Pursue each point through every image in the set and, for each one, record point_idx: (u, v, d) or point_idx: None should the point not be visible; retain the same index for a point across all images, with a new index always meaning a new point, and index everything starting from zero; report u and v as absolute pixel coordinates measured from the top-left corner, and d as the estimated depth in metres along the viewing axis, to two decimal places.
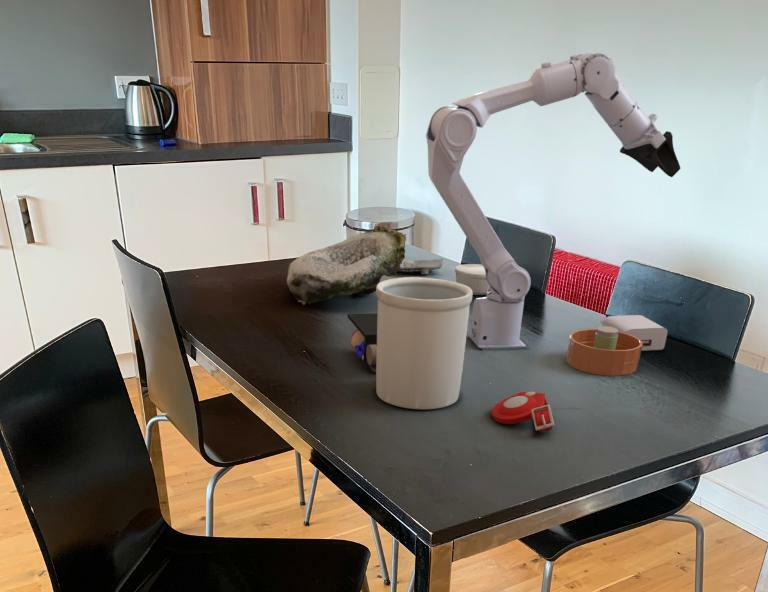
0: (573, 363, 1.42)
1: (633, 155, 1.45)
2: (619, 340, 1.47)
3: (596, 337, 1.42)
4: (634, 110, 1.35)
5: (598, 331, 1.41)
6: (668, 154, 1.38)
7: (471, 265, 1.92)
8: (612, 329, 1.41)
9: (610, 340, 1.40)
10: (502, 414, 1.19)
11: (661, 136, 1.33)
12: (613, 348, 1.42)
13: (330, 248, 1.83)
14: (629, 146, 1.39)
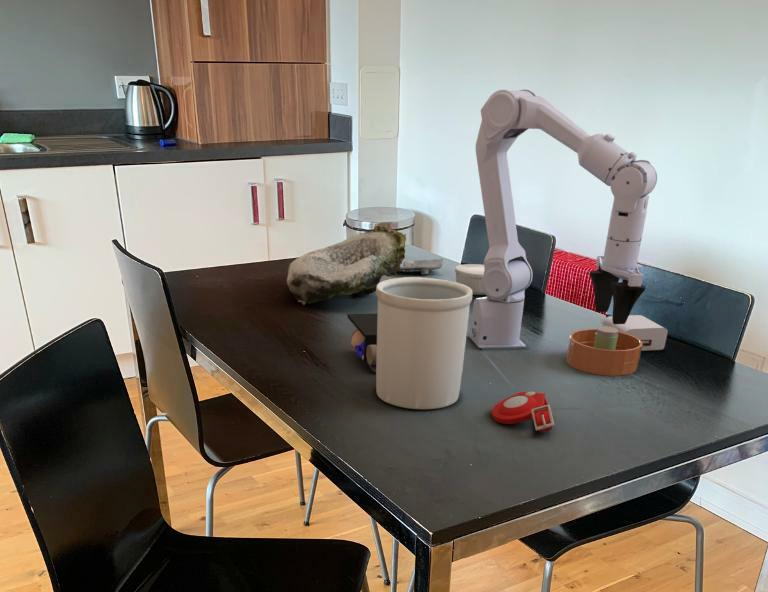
0: (573, 363, 1.42)
1: (597, 284, 1.41)
2: (619, 340, 1.47)
3: (596, 337, 1.42)
4: (636, 243, 1.32)
5: (598, 331, 1.41)
6: (627, 303, 1.35)
7: (471, 265, 1.92)
8: (612, 329, 1.41)
9: (610, 340, 1.40)
10: (502, 414, 1.19)
11: (640, 280, 1.30)
12: (613, 348, 1.42)
13: (330, 248, 1.83)
14: (607, 268, 1.34)
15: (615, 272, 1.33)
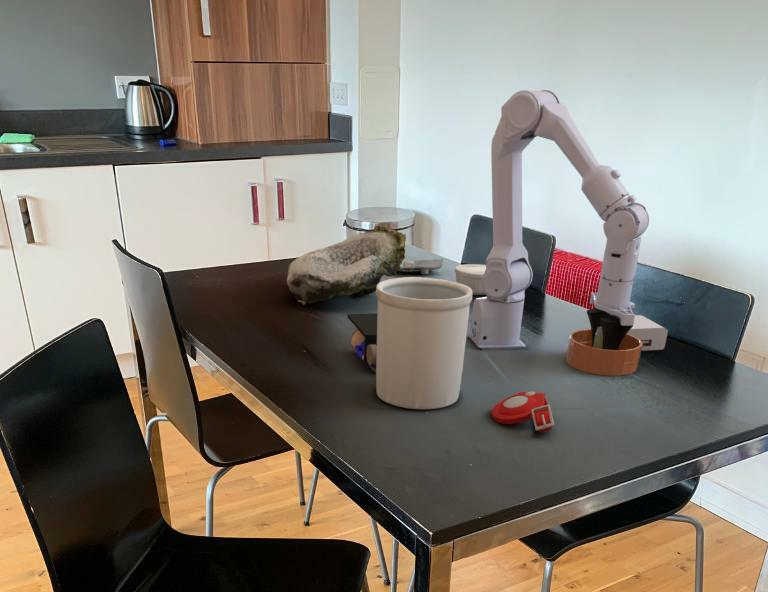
0: (573, 363, 1.42)
1: (594, 322, 1.43)
2: None
3: (596, 337, 1.42)
4: (628, 283, 1.35)
5: (598, 331, 1.41)
6: (616, 338, 1.40)
7: (471, 265, 1.92)
8: None
9: None
10: (502, 414, 1.19)
11: (632, 320, 1.33)
12: None
13: (330, 248, 1.83)
14: (601, 307, 1.38)
15: (608, 311, 1.36)
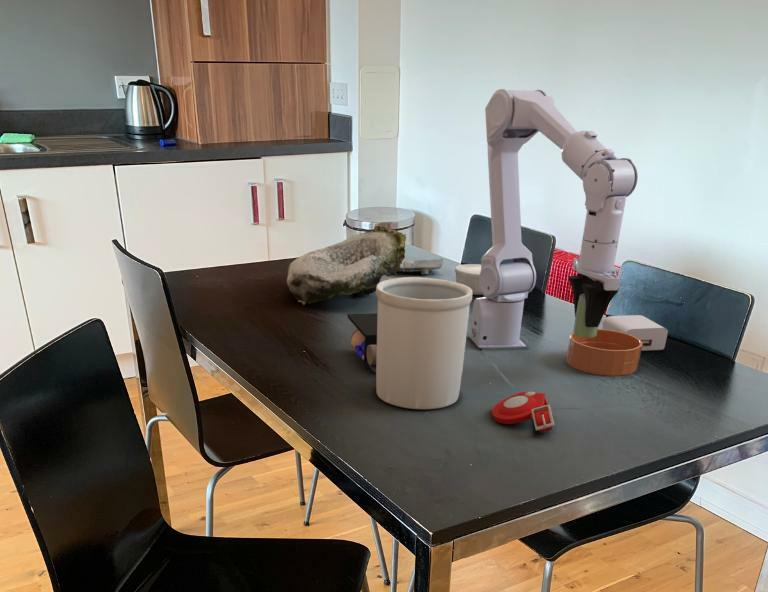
0: (573, 363, 1.42)
1: (576, 289, 1.33)
2: (619, 340, 1.47)
3: (579, 305, 1.32)
4: (613, 245, 1.25)
5: (581, 298, 1.31)
6: (600, 305, 1.30)
7: (471, 265, 1.92)
8: None
9: None
10: (502, 414, 1.19)
11: (617, 284, 1.24)
12: None
13: (330, 248, 1.83)
14: (583, 271, 1.28)
15: (591, 275, 1.26)
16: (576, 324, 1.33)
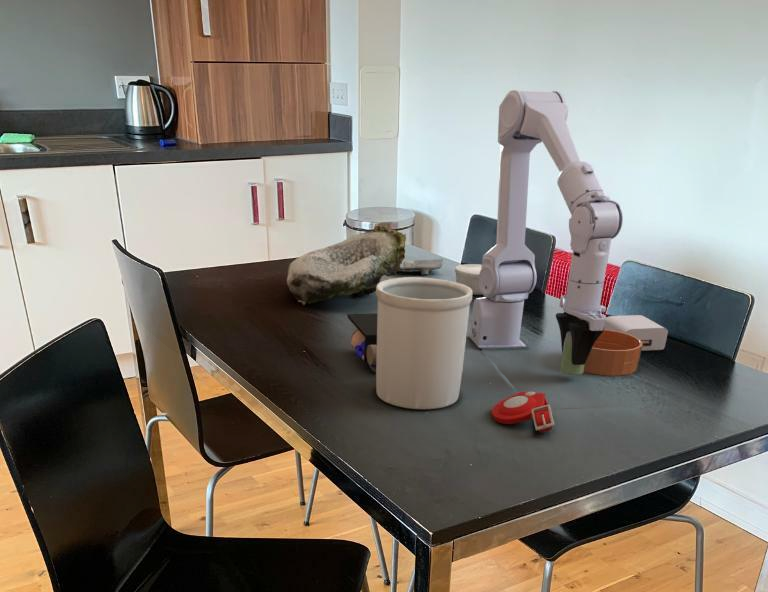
0: None
1: (563, 327, 1.34)
2: (619, 340, 1.47)
3: (565, 343, 1.33)
4: (598, 285, 1.26)
5: (567, 336, 1.32)
6: (586, 343, 1.31)
7: (471, 265, 1.92)
8: None
9: None
10: (502, 414, 1.19)
11: (602, 324, 1.25)
12: None
13: (330, 248, 1.83)
14: (569, 310, 1.29)
15: (577, 315, 1.28)
16: (563, 361, 1.35)
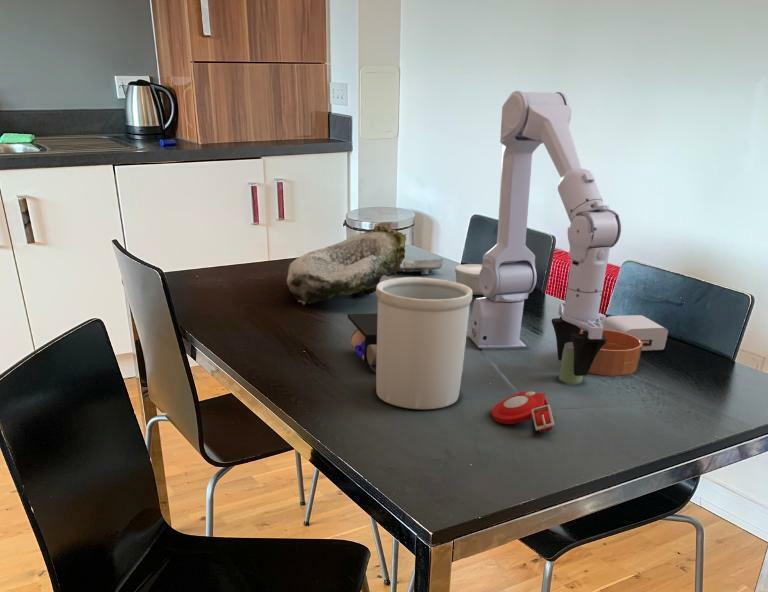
0: None
1: (559, 332, 1.36)
2: (619, 340, 1.47)
3: (564, 354, 1.34)
4: (597, 294, 1.27)
5: (566, 347, 1.33)
6: (589, 354, 1.30)
7: (471, 265, 1.92)
8: None
9: None
10: (502, 414, 1.19)
11: (600, 333, 1.26)
12: None
13: (330, 248, 1.83)
14: (568, 319, 1.30)
15: (575, 323, 1.28)
16: (561, 372, 1.36)
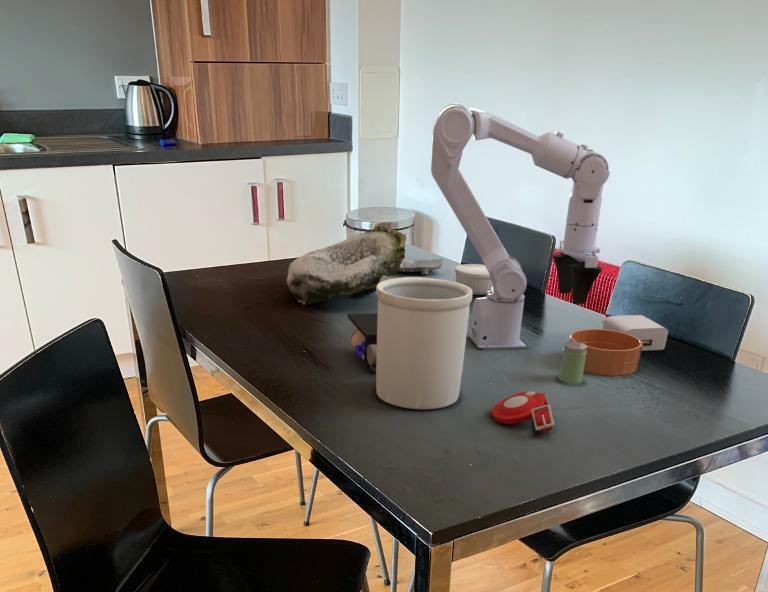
0: None
1: (559, 266, 1.50)
2: (619, 340, 1.47)
3: (564, 354, 1.34)
4: (592, 227, 1.41)
5: (566, 347, 1.33)
6: (586, 284, 1.44)
7: (471, 265, 1.92)
8: (581, 345, 1.34)
9: (579, 357, 1.33)
10: (502, 414, 1.19)
11: (596, 262, 1.40)
12: (582, 365, 1.34)
13: (330, 248, 1.83)
14: (567, 251, 1.44)
15: (573, 255, 1.42)
16: (561, 372, 1.36)
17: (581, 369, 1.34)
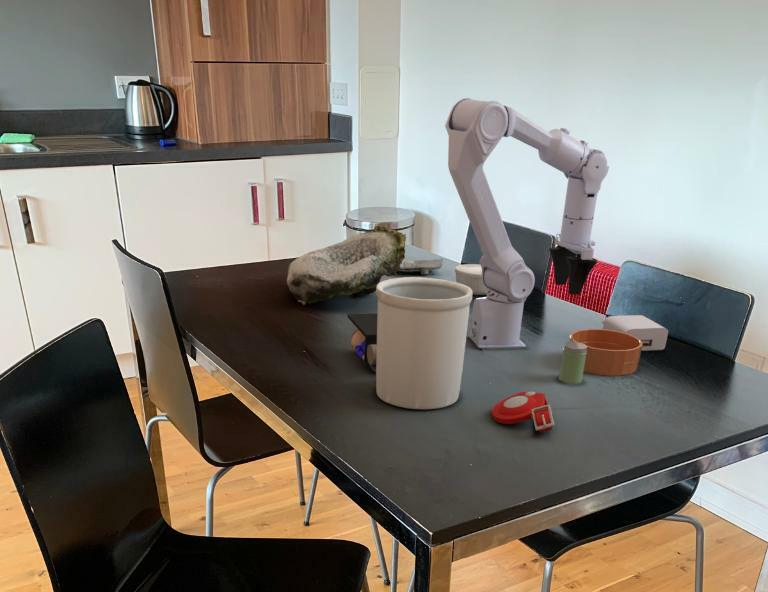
0: None
1: (556, 259, 1.56)
2: (619, 340, 1.47)
3: (564, 354, 1.34)
4: (588, 221, 1.47)
5: (566, 347, 1.33)
6: (582, 275, 1.50)
7: (471, 265, 1.92)
8: (581, 345, 1.34)
9: (579, 357, 1.33)
10: (502, 414, 1.19)
11: (591, 254, 1.46)
12: (582, 365, 1.34)
13: (330, 248, 1.83)
14: (563, 244, 1.50)
15: (570, 247, 1.48)
16: (561, 372, 1.36)
17: (581, 369, 1.34)
